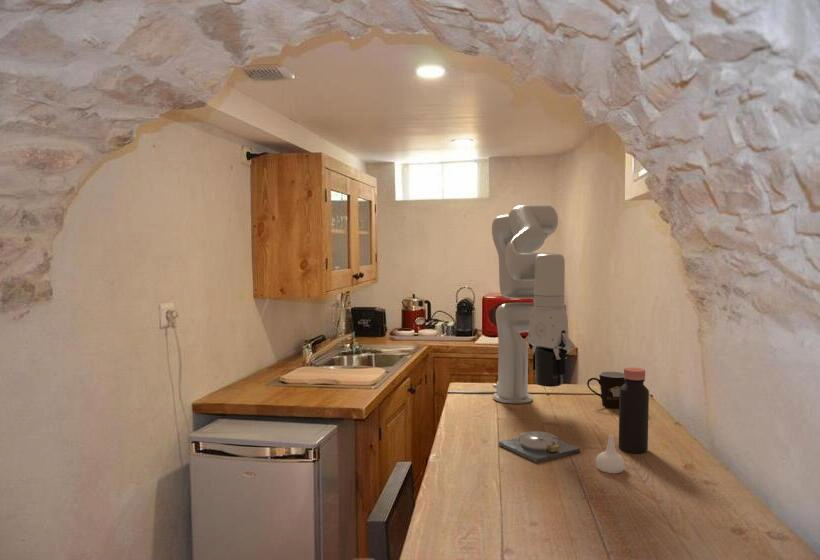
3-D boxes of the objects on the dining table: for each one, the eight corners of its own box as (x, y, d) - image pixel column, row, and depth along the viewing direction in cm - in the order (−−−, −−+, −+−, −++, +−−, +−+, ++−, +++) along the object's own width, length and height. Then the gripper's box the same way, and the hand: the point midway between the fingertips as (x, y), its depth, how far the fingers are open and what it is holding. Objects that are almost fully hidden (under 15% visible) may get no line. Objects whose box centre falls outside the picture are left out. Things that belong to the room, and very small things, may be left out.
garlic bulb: (600, 476, 132) (602, 442, 131) (591, 463, 138) (593, 431, 137) (628, 476, 132) (630, 442, 131) (618, 463, 138) (620, 430, 137)
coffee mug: (630, 404, 188) (630, 373, 188) (624, 411, 181) (625, 378, 180) (592, 399, 194) (593, 369, 194) (585, 405, 187) (586, 374, 186)
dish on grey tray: (498, 445, 151) (498, 433, 151) (540, 436, 158) (540, 425, 158) (536, 463, 139) (536, 450, 139) (579, 452, 146) (580, 440, 145)
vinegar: (650, 447, 149) (652, 368, 148) (644, 455, 143) (646, 373, 142) (622, 442, 153) (623, 365, 151) (615, 450, 147) (616, 370, 146)
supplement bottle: (560, 381, 156) (560, 335, 155) (564, 387, 149) (565, 339, 148) (533, 381, 156) (533, 335, 155) (536, 387, 149) (537, 339, 149)
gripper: (514, 300, 157) (514, 368, 158) (563, 305, 142) (563, 380, 143) (536, 299, 161) (535, 365, 162) (585, 304, 146) (585, 376, 147)
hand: (548, 371), depth 152 cm, fingers closed on supplement bottle, 6 cm apart
